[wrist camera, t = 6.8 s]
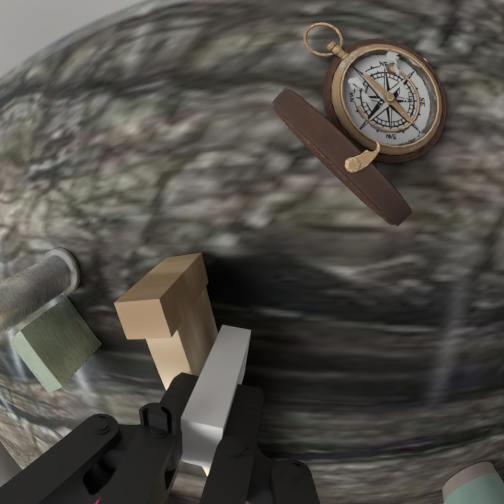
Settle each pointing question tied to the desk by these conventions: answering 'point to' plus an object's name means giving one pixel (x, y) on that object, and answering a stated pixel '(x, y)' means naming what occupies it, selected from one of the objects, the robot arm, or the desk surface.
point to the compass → (369, 117)
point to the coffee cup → (475, 486)
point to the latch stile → (47, 319)
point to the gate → (172, 316)
